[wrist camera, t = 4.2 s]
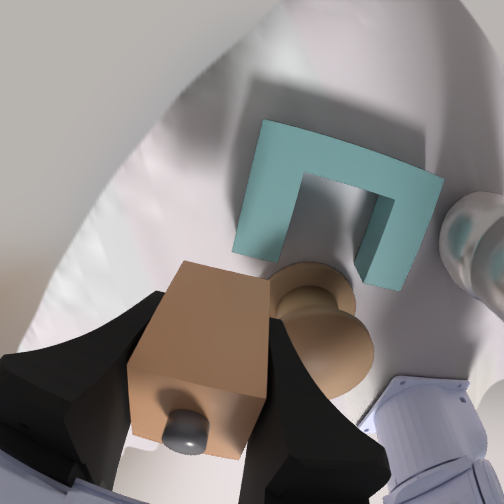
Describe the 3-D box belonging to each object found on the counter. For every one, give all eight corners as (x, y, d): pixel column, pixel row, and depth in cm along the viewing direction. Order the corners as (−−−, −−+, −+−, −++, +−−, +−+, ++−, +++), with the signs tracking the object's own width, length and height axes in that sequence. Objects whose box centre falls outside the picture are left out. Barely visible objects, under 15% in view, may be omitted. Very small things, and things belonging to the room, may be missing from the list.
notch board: (425, 170, 17) (444, 179, 14) (387, 272, 20) (399, 291, 17) (264, 119, 16) (263, 119, 14) (236, 235, 19) (231, 252, 17)
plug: (270, 280, 13) (265, 423, 6) (250, 345, 14) (236, 480, 8) (183, 260, 13) (115, 387, 6) (175, 327, 14) (125, 453, 8)
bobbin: (367, 274, 20) (394, 327, 15) (333, 348, 22) (345, 407, 17) (272, 251, 20) (271, 302, 14) (248, 332, 22) (241, 392, 17)
